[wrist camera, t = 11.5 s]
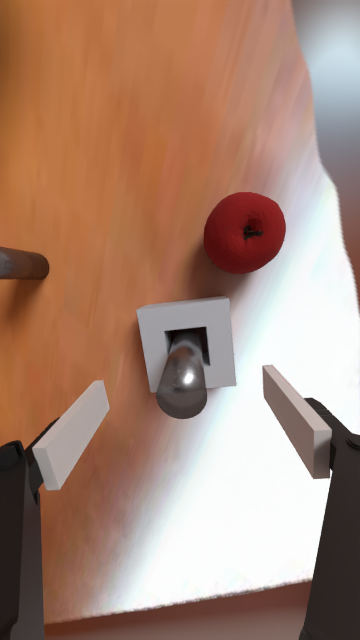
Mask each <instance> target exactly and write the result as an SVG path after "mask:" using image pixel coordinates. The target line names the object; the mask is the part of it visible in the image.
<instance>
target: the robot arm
mask: <svg viewBox="0 0 360 640" xmlns="http://www.w3.org/2000/svg"><path fill="white" fill-rule="evenodd" d="M262 367H263V391H264V398H265V400H266V401H267V403H268V405H269V406H270V408H271V410H272V411H273V413H274V415H275V416H276V418H277V420H278V421H279V423H280V425H281V426H282V428H283V430H284V431H285V433H286V435H287V436H288V438H289V440H290V441H291V443H292V444H293V446H294V448H295V449H296V451H297V453H298V454H299V456H300V458H301V459H302V461H303V463H304V464H305V466H306V468H307V469H308V471H309V473H310V474H311V476H312V478H313V479H323V478H330V468H331V470H332V477H331V482H330V488H329V493H328V499H327V504H326V509H325V515H324V520H323V526H322V531H321V536H320V542H319V547H318V553H317V558H316V563H315V569H314V574H313V580H312V586H311V591H310V596H309V602H308V607H307V612H306V618H305V622H304V626H303V629H302V630H301V633H300V636H299V640H360V435H357V434H353V433H351V432H350V431H349V430H348V429H347V428H346V427H345V426H344V425H343V424H342V423H341V422H340V421H339V420H338V419H337V418H336V417H335V416H334V415H332V413H331V412H330V411H329V410H327V408H326V407H325V406H324V405H323V404H321V403H320V402H319V401H317V400H315V399H313V398H302V396H301V395H300V394H299V393H298V392H297V391H296V390H295V389H294V388H293V387H292V386H291V384H290V383H289V382H288V381H287V380H286V379H285V378H284V377H283V376H282V375H281V374H280V372H279V371H278V370H277V369H276V368H275V367H274V366H273V365H265V366H262ZM109 409H110V408H109V404H108V400H107V395H106V391H105V387H104V382H103V380H100V381H94V382H93V383H92V384H91V385H90V386H89V387H88V388H87V389H86V391H85V392H84V393H83V394H82V395H81V396H80V397H79V398H78V399H77V400H76V401H75V402H74V404H73V405H72V406H71V407H70V408H69V409H68V410H67V411H66V412H65V413H64V414H63V415H62V416H61V417H59V418H57V419H56V420H54V421H53V422H52V423H50V424H49V425H48V426H47V427H46V429H45V430H44V431H43V432H42V433H41V434H40V436H38V437H37V438H36V439H35V440H34V441H33V442H32V443H31V444H30V445H29V446H28V447H27V448H26V449H25V450H24V448H23V445H22V443H21V441H18V440H17V441H12V442H9V443H7V444H5V445H3V446H1V447H0V640H44V615H43V581H42V548H41V514H40V493H39V490H38V489H39V487H40V486H41V484H42V483H43V482H44V485H45V488H46V490H60V488H61V487H62V485H63V484H64V482H65V480H66V479H67V477H68V476H69V474H70V472H71V471H72V469H73V467H74V466H75V464H76V463H77V461H78V459H79V458H80V456H81V454H82V453H83V451H84V450H85V448H86V446H87V445H88V443H89V441H90V440H91V438H92V437H93V435H94V433H95V432H96V430H97V428H98V427H99V425H100V424H101V422H102V420H103V419H104V417H105V416H106V414H107V412H108V411H109Z"/></svg>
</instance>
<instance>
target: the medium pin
mask: <svg viewBox="0 0 360 640" xmlns="http://www.w3.org/2000/svg"><path fill="white" fill-rule="evenodd" d="M48 273H49V263H48V261H47V259H46V258H45V257H44V256H43V255H41V254H39V253H34V252H28V251H22V250H16V249H11V248H5V247H0V279H23V280H40V279H43V278H45V277H46V276H47V275H48Z"/></svg>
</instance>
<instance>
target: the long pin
mask: <svg viewBox="0 0 360 640" xmlns="http://www.w3.org/2000/svg"><path fill="white" fill-rule="evenodd" d="M156 397H157V402H158V404H159V406H160V408H161V409H162V410H163V411H164V412H165V413H166V414H167V415H169V416H171V417H174V418H177V419H188V418H192V417H194V416H196V415H198V414H199V413H200V412H201V411H202V410H203V409H204V407H205V405H206V402H207V391H206V383H205V374H204V366H203V358H202V349H201V341H200V334H199V332H198V331H197V329H195V328H186V329H178V330H177V332H176V334H175V337H174V340H173V343H172V346H171V349H170V352H169V355H168V358H167V361H166V364H165V367H164V370H163V373H162V376H161V379H160V383H159V386H158V389H157V393H156Z"/></svg>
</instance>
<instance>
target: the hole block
mask: <svg viewBox="0 0 360 640" xmlns="http://www.w3.org/2000/svg"><path fill="white" fill-rule="evenodd" d="M137 316H138V322H139V328H140V333H141V339H142V345H143V351H144V357H145V362H146V368H147V374H148V380H149V386H150V391H151V393H154V392H157V389H158V386H159V383H160V379H161V376H162V373H163V370H164V367H165V364H166V361H167V358H168V355H169V352H170V349H171V346H172V343H171V336H170V330H177V329H186V328H195V327H204V326H205V331H206V341H207V350H208V353H202V358H203V366H204V374H205V383H206V388H216V387H228V386H236V376H235V364H234V351H233V338H232V326H231V313H230V300H229V298H227V297H225V296H217V297H208V298H200V299H192V300H184V301H175V302H167V303H159V304H151V305H145V306H143V307H141V308H139V309H137Z"/></svg>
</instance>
